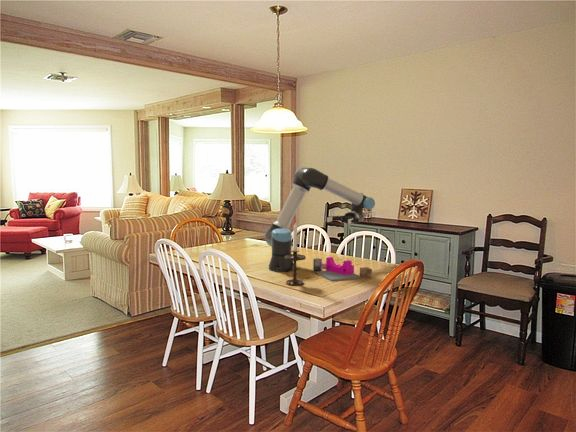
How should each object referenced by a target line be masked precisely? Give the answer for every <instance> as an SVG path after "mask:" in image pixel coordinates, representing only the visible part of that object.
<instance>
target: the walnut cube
mask: <svg viewBox="0 0 576 432" xmlns="http://www.w3.org/2000/svg"><path fill="white" fill-rule="evenodd" d="M359 276H361V278H360V279H363V280H364V279H372V278H373V269H372V268H370V267H368V266H367V267H365V266H364V267H359Z"/></svg>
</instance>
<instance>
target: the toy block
mask: <svg viewBox="0 0 576 432" xmlns="http://www.w3.org/2000/svg"><path fill="white" fill-rule="evenodd" d="M334 260H335V259H334V257H333V256H328V257H326V260H325V262H326V268H325V271H331V272H335V273H340V274H344V275H350V274H353V273H354V274H355V265H354V264H352V262H353V261H352V260H348V259H347V260H344V261H343V263H342V264H339V263H338V264H336V262H335V261H334Z"/></svg>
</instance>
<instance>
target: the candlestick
mask: <svg viewBox="0 0 576 432" xmlns="http://www.w3.org/2000/svg"><path fill="white" fill-rule="evenodd" d="M293 219H294V225H293V235H292V236H293V237H292V238H293V239H292V240H293V246H292V248H293V249H292V250H291V254H289V255H285V259H287V260H292V261H293V263H294V268H293V269H292V270H291V271H293V273H292V275H293V277H292V279H288V280H286V281H285V284H286V285H288V286H293V287H299V286H302V285H304V281H303V279H302V280H301V279H298V278H297V275H298V273H297V271H298V268H297V262H298V261H304V260H306V255H304V254H298V253H299V250H298V225H297V219H296V217H293Z"/></svg>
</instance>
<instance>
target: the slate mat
mask: <svg viewBox="0 0 576 432" xmlns="http://www.w3.org/2000/svg"><path fill="white" fill-rule="evenodd" d="M316 274H317V275H319V276H321V277H322V278H325V279H326V280H328V281H330V282H336V281H347V280H356V279H362V278H361V276H360V274H357V273H355V272H354V273H353V274H350V275H344V274H340V273H335V272H331V271H326V270H322V271H318V272H316Z"/></svg>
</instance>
